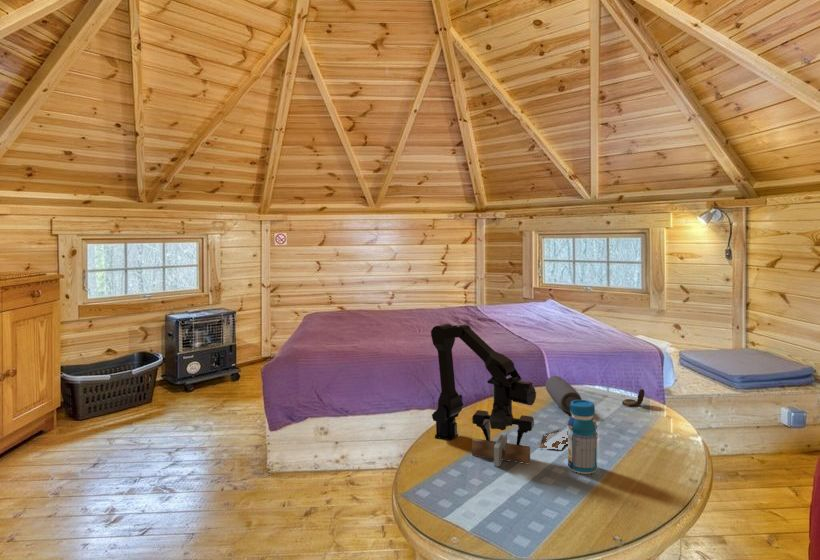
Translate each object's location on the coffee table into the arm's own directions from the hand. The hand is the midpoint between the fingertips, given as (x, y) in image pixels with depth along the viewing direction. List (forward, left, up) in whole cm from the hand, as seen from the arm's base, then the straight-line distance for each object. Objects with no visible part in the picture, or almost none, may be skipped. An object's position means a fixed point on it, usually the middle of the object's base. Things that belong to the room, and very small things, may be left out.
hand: (503, 446), depth 153 cm
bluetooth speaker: (+13, +52, -3) cm, 54 cm away
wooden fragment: (+16, +19, -3) cm, 25 cm away
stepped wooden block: (0, -4, -3) cm, 4 cm away
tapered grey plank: (0, -3, -3) cm, 4 cm away
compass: (+39, +62, -3) cm, 73 cm away
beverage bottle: (+24, -2, -3) cm, 24 cm away
